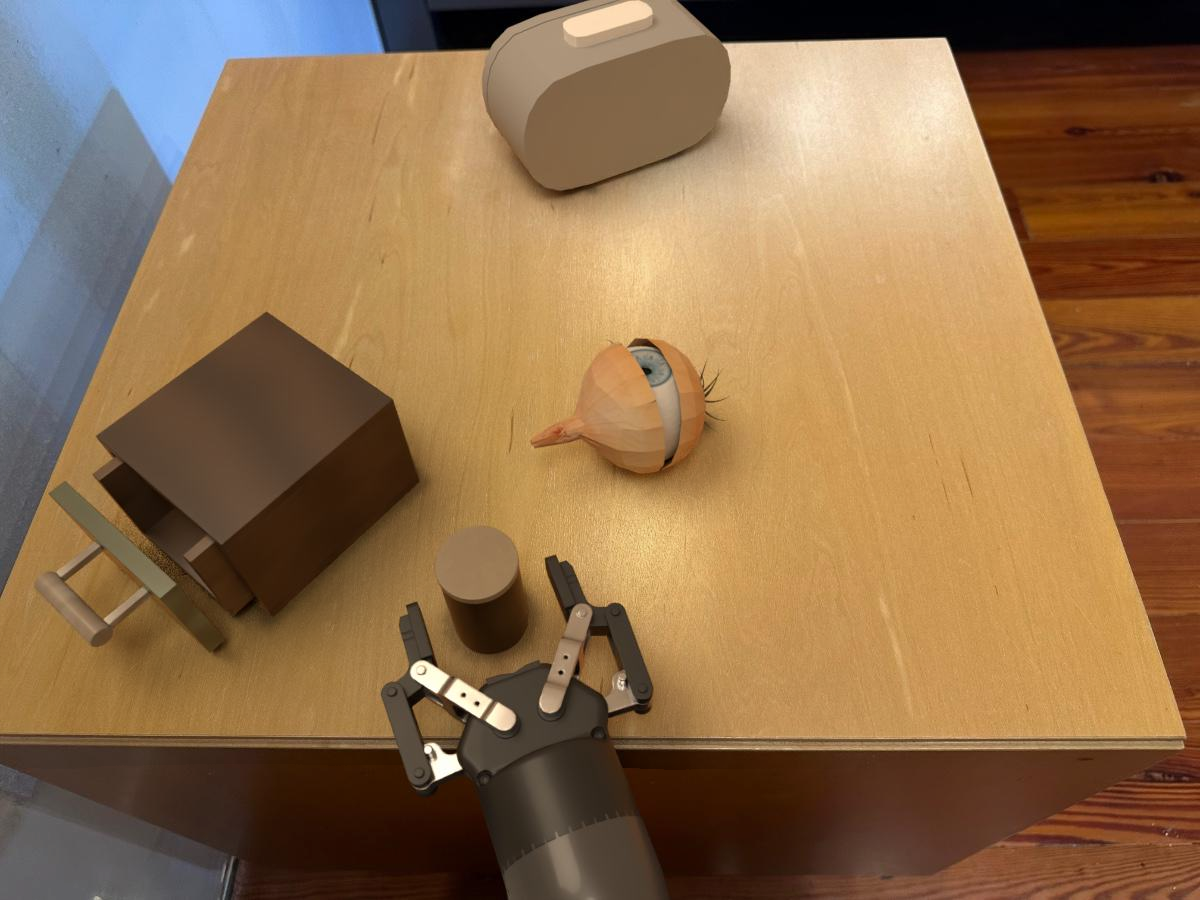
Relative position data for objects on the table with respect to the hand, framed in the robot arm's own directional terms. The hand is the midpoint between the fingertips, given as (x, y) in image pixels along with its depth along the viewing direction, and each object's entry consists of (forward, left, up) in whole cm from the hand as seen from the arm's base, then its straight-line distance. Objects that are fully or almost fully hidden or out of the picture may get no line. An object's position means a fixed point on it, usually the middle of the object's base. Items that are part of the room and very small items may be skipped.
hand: (482, 585), depth 55 cm
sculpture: (+15, +8, -6) cm, 18 cm away
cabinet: (-8, +17, -6) cm, 19 cm away
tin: (0, +1, -6) cm, 6 cm away
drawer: (-14, +14, -5) cm, 21 cm away
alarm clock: (+32, +39, -6) cm, 51 cm away
